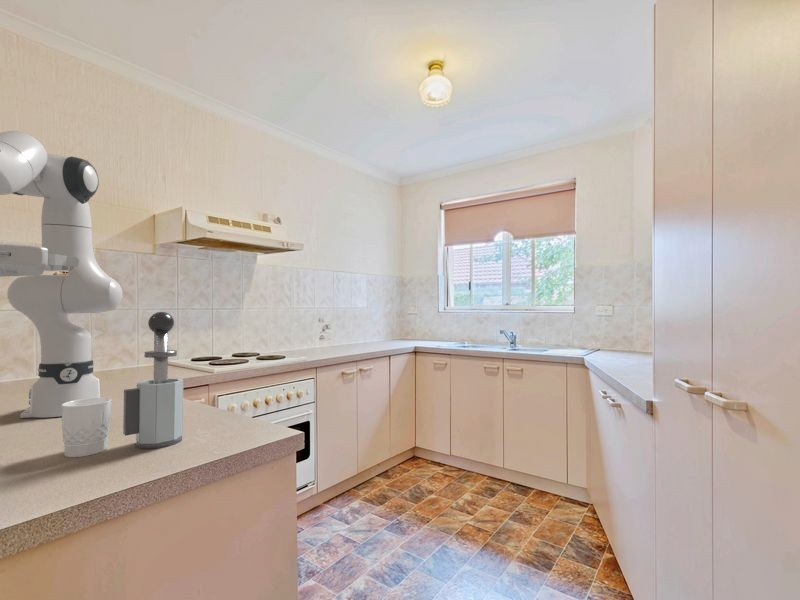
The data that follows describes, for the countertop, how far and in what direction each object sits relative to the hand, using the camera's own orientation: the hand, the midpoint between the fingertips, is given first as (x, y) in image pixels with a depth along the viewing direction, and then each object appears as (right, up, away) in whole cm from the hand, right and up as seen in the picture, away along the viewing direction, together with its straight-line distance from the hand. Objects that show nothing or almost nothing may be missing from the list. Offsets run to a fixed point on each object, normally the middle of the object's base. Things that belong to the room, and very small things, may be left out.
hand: (75, 264), depth 80 cm
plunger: (+14, -36, +4) cm, 39 cm away
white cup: (+3, -38, -1) cm, 38 cm away
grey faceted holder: (+14, -38, +4) cm, 40 cm away
